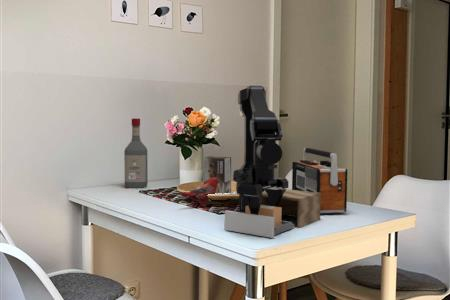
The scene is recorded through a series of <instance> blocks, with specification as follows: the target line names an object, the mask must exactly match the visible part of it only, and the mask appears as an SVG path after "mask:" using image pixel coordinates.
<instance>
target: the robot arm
mask: <svg viewBox="0 0 450 300" xmlns="http://www.w3.org/2000/svg"><path fill="white" fill-rule="evenodd" d="M237 104H238V105H239V111H240V112H241V115H242V116H243V119H244V131H243V132H244V139H243V140H244V143H243V144H244V145H243V146H244V148H243V149H244V150H243V151H244V153H243V156H244V157H243V158H244V160H243V164H242V165H241V167H240V168H239V169H235V170H233V175H232V177H233V178H232V180H233V181H234V182H236V184H235V186H236V187H235V188H236V190H235V191H236V194H237V195H239V196H238V197H239V198H238V208H239V209H236V211H235V212H241V213H245V207H246V206H249V209H250V213H251V214H255V215H258V213H259V210H260V206H261V202H262V199H263V195H261V194H262V192H264V191H265V192H266V193H267V194H268V203H269V206H274V207H277V206H278V203H279V201H280V200H281V198H282V196H283V194H284V192H285V191H286V189H289V180H288V179H287V178H286V177H279V176H278V177H276V176H275V169H278V164H277V163H278V162H280V161H281V159H282V157H283V149H282V148H281V146H280V145H279V144H277V141H280V142H281V141H282V138H283V134H284V133H283V130H282V127H281V126H282V125H281V123H280V121H279V119H277V116H276V113H275V112H273V111H272V110H270V109H269V106H268V103H267V90H266V89H265V86H262V85H249V86H247V87H246V88H244V89H241V90H239V92H238V94H237Z"/></svg>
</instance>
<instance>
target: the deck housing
mask: <svg viewBox="0 0 450 300" xmlns="http://www.w3.org/2000/svg"><path fill="white" fill-rule="evenodd" d="M261 195H263V199H262V202H261V205H266V206H269V203H268V194H267V193H266V192H265V190H264V192H262V194H261ZM320 200H321V193H318V192H308V191H299V190H292V189H289V188H286V191H285V192H284V194H283V196H282V198H281V200H280V201H279V203H278V206H277V207H282V216H288V217H295V218H297V221H296V222H297V224H296V225H297V229H300V228H303V227H305V226H308V225H311V224H313V223H316V222H319V221H320V220H321V214H320Z"/></svg>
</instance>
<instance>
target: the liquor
mask: <svg viewBox="0 0 450 300" xmlns="http://www.w3.org/2000/svg"><path fill="white" fill-rule="evenodd" d="M140 126H141V118H131V128H132V129H131V130H132V131H131V134H132V135H131V141H130V142H129V143H128V144H127V145H126V147H125V149H124V152H123V153H124V187H125V188H126V189H129V188H141V189H145V188H147V186H148V181H149V180H148V149H147V146H145V144H144V143H143V142H142V141H141V134H140V131H141V129H140ZM144 187H145V188H144Z"/></svg>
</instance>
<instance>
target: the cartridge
mask: <svg viewBox="0 0 450 300" xmlns="http://www.w3.org/2000/svg"><path fill="white" fill-rule="evenodd" d="M245 213H248V214H251V213H250V209H249V206H246V207H245ZM258 215H262V216H269V217H274V227H277V226H280V225H281V220H282V216H283V215H282V207H274V206H266V205H261V206H260V210H259V213H258Z"/></svg>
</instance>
